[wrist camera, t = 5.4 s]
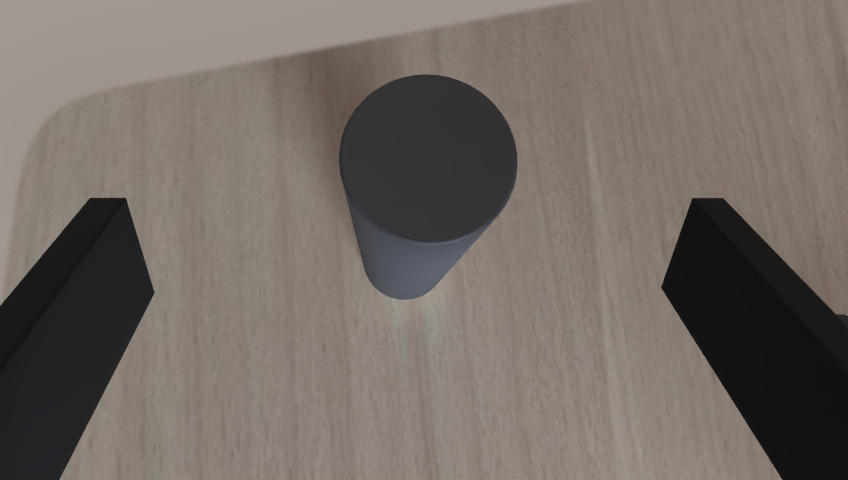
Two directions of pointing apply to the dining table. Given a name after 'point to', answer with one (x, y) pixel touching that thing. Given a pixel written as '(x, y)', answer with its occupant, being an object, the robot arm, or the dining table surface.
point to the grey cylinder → (423, 178)
